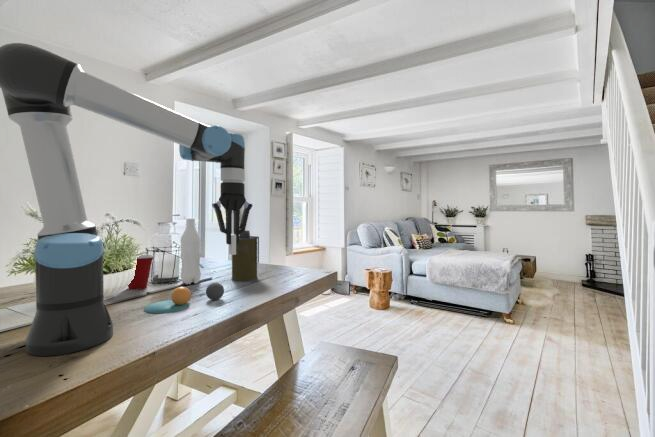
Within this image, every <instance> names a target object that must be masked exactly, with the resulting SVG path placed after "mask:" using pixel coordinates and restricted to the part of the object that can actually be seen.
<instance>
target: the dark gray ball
mask: <svg viewBox="0 0 655 437" xmlns="http://www.w3.org/2000/svg"><path fill="white" fill-rule="evenodd" d="M224 294H225V289H224V286H223V285H222V284H221V283H220V282H213V283H212V282H211V283H210V284H208V286H207V288H206V290H205V295H206V297H207V298H208V299H209V300H210V301H211V300H212V301H217V300H220V299H221V298H222V297H223V296H224Z"/></svg>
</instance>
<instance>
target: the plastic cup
mask: <svg viewBox="0 0 655 437" xmlns="http://www.w3.org/2000/svg"><path fill="white" fill-rule="evenodd" d="M140 255H141V256H139V257H137V265H136V270H135V276H134V279H133V280H132V281H131V283H130V284H129V285H128V284H127V288H128V290H131V289H132V290H135V291H137V290H144V289H146V288H147V287H148V283H149V277H150V272H151V268H152V267H151V266H152V264H153V260H154V258H155V255H154V254H153V255H152V254H140ZM136 289H137V290H136Z"/></svg>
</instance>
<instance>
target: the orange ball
mask: <svg viewBox="0 0 655 437" xmlns="http://www.w3.org/2000/svg"><path fill="white" fill-rule="evenodd" d="M191 295H192V294H191V291H190V289H189V288H187V287H186V286H178V287H175V289H173V290H172V292H171V294H170V299H171V300H172V302H173V303H174V304H176V305H184V304H186V303H187V302H188V303H189V302H190V300H191Z"/></svg>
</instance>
